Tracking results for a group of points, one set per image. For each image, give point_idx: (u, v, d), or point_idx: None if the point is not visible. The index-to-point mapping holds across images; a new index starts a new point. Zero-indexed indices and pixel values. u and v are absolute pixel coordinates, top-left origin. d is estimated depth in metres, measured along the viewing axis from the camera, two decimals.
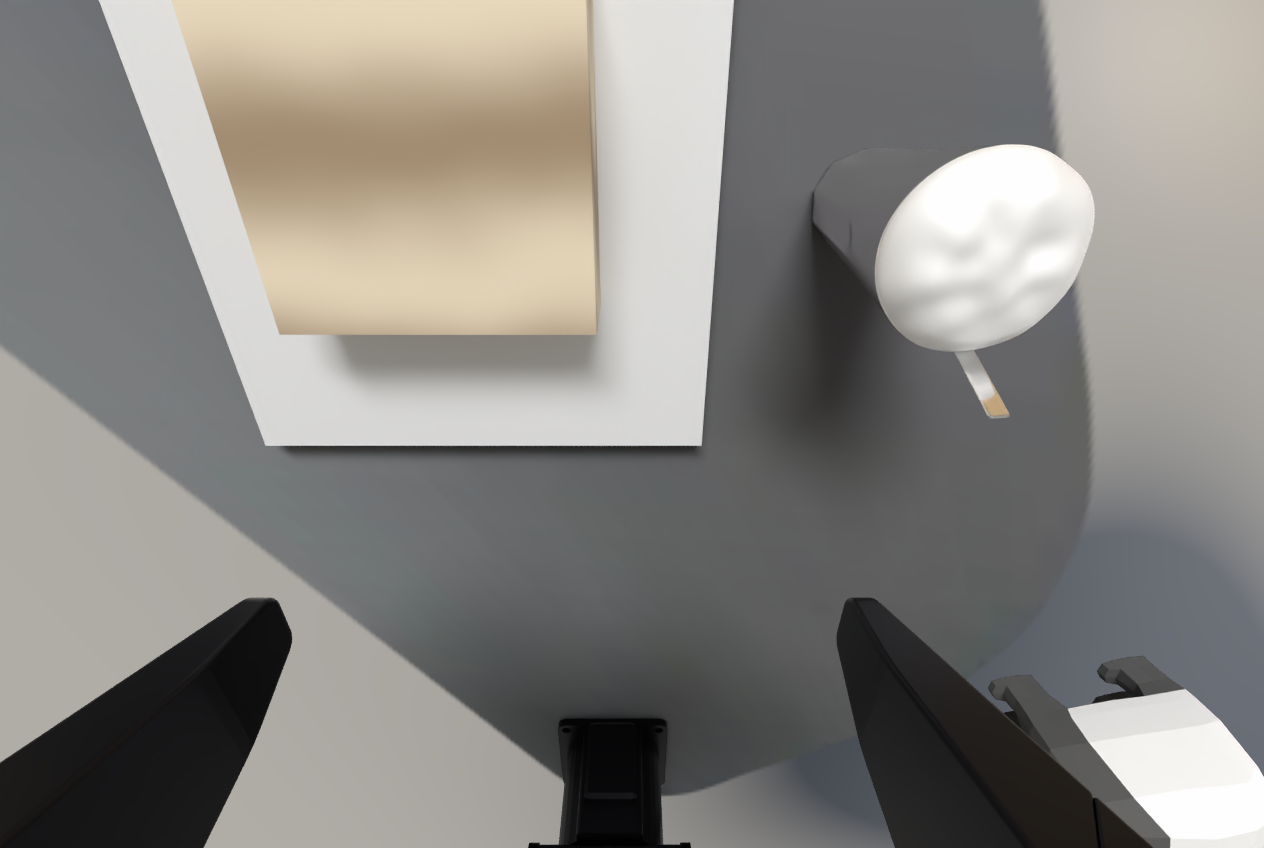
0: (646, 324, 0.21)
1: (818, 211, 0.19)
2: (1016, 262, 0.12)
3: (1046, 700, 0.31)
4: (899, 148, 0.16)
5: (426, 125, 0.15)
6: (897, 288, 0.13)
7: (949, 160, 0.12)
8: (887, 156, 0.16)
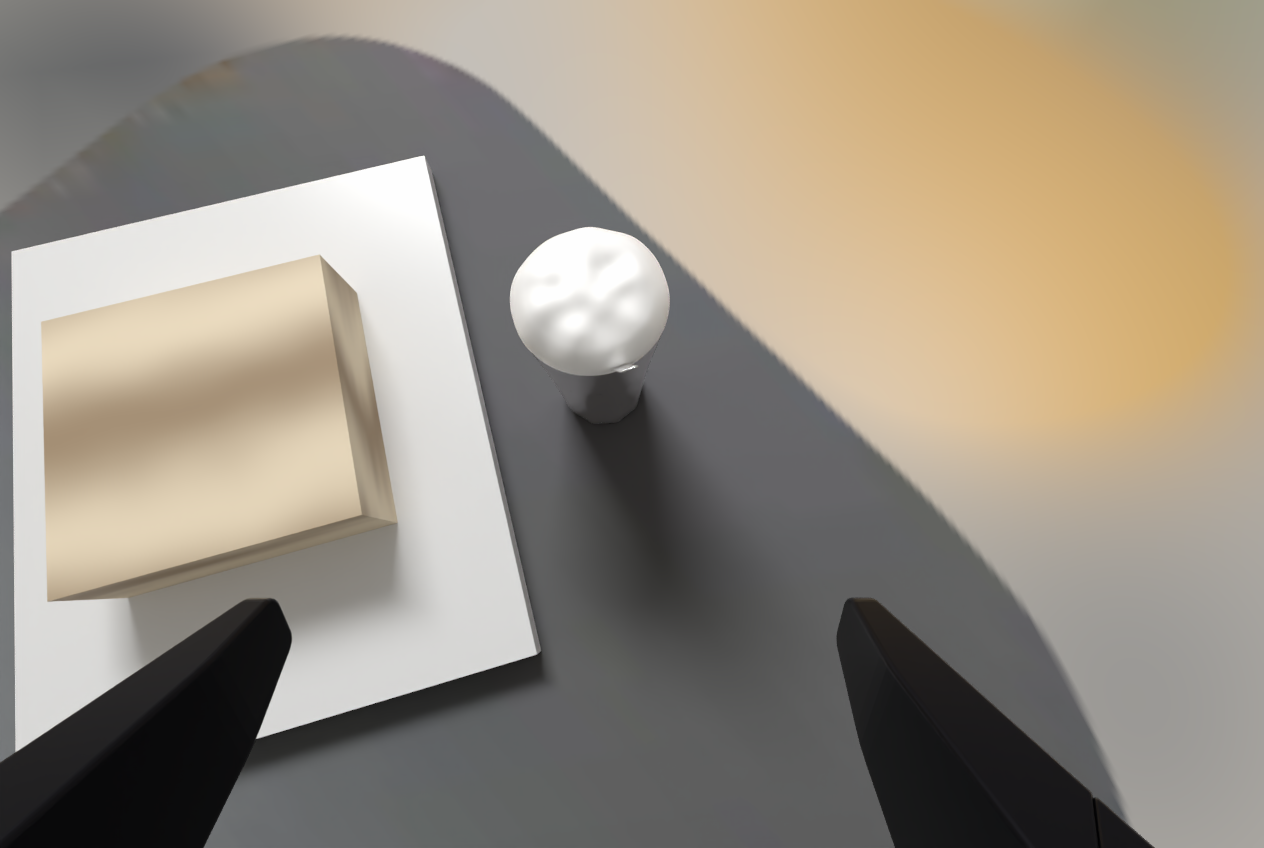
0: (444, 529, 0.22)
1: None
2: (594, 277, 0.16)
3: None
4: None
5: (212, 386, 0.20)
6: (524, 326, 0.16)
7: None
8: None
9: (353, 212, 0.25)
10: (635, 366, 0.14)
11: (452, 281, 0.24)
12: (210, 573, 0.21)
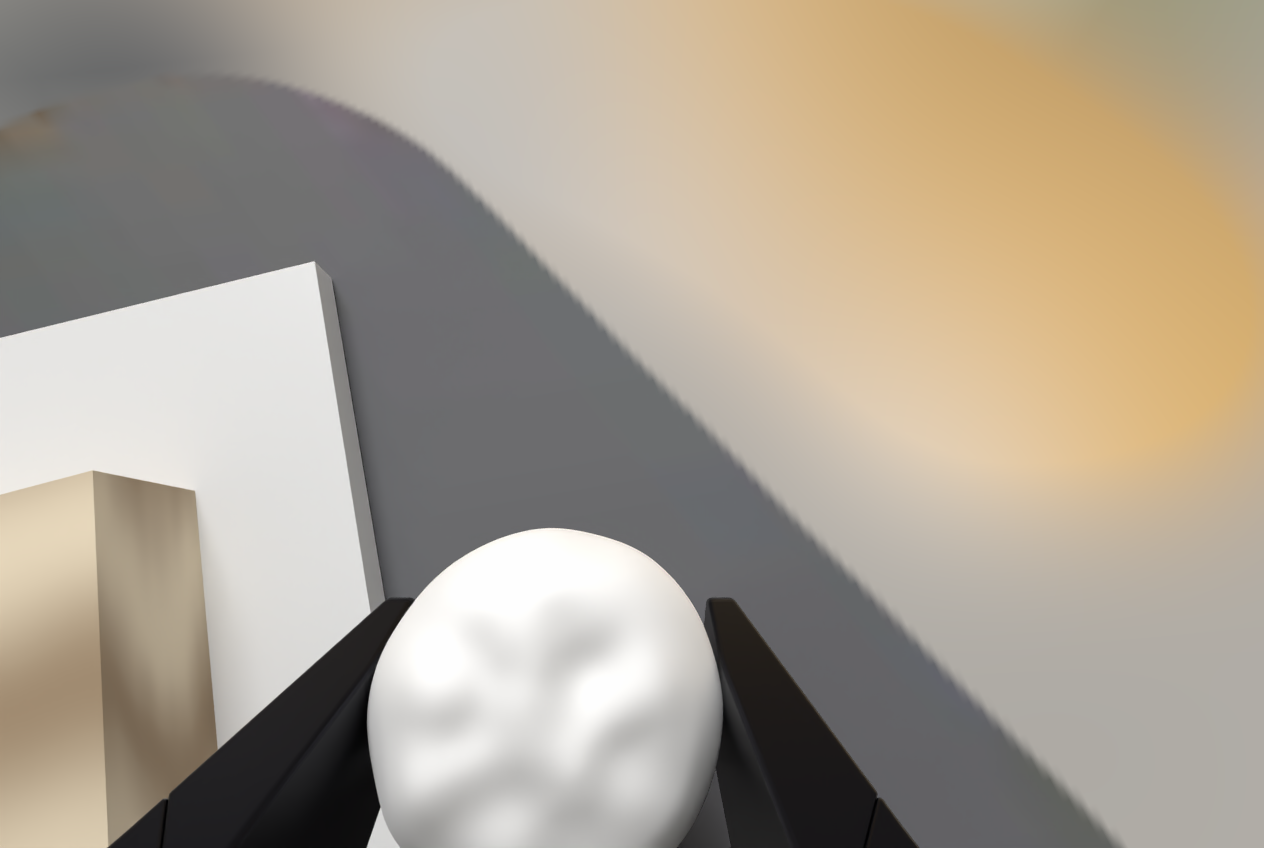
0: None
1: None
2: (552, 707, 0.07)
3: None
4: None
5: None
6: (387, 818, 0.07)
7: None
8: None
9: (200, 354, 0.16)
10: None
11: (347, 469, 0.15)
12: None
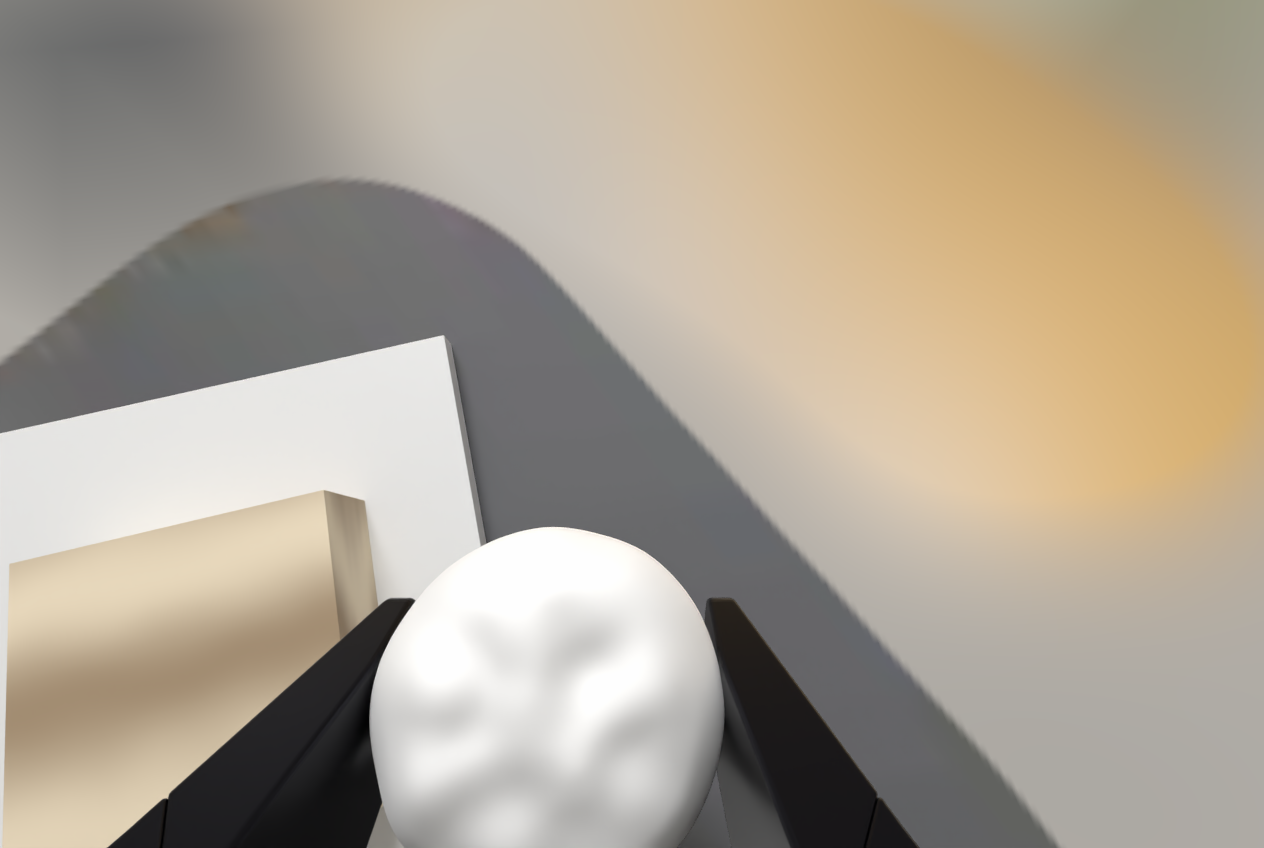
0: None
1: None
2: (555, 706, 0.07)
3: None
4: None
5: (197, 653, 0.18)
6: (390, 816, 0.07)
7: None
8: None
9: (363, 401, 0.23)
10: None
11: (470, 489, 0.22)
12: None
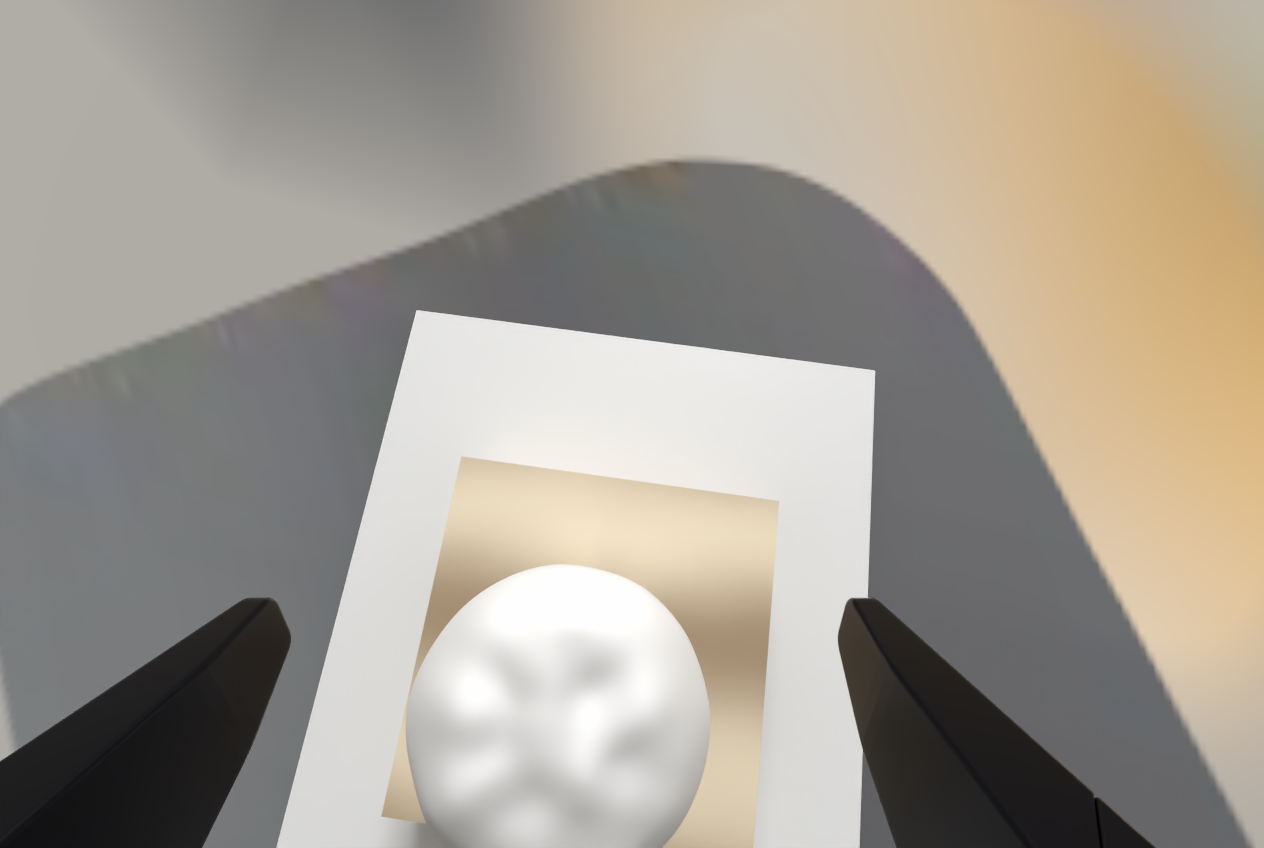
0: None
1: None
2: (565, 725, 0.08)
3: None
4: None
5: None
6: (428, 817, 0.08)
7: None
8: None
9: (778, 409, 0.22)
10: None
11: (868, 542, 0.20)
12: None
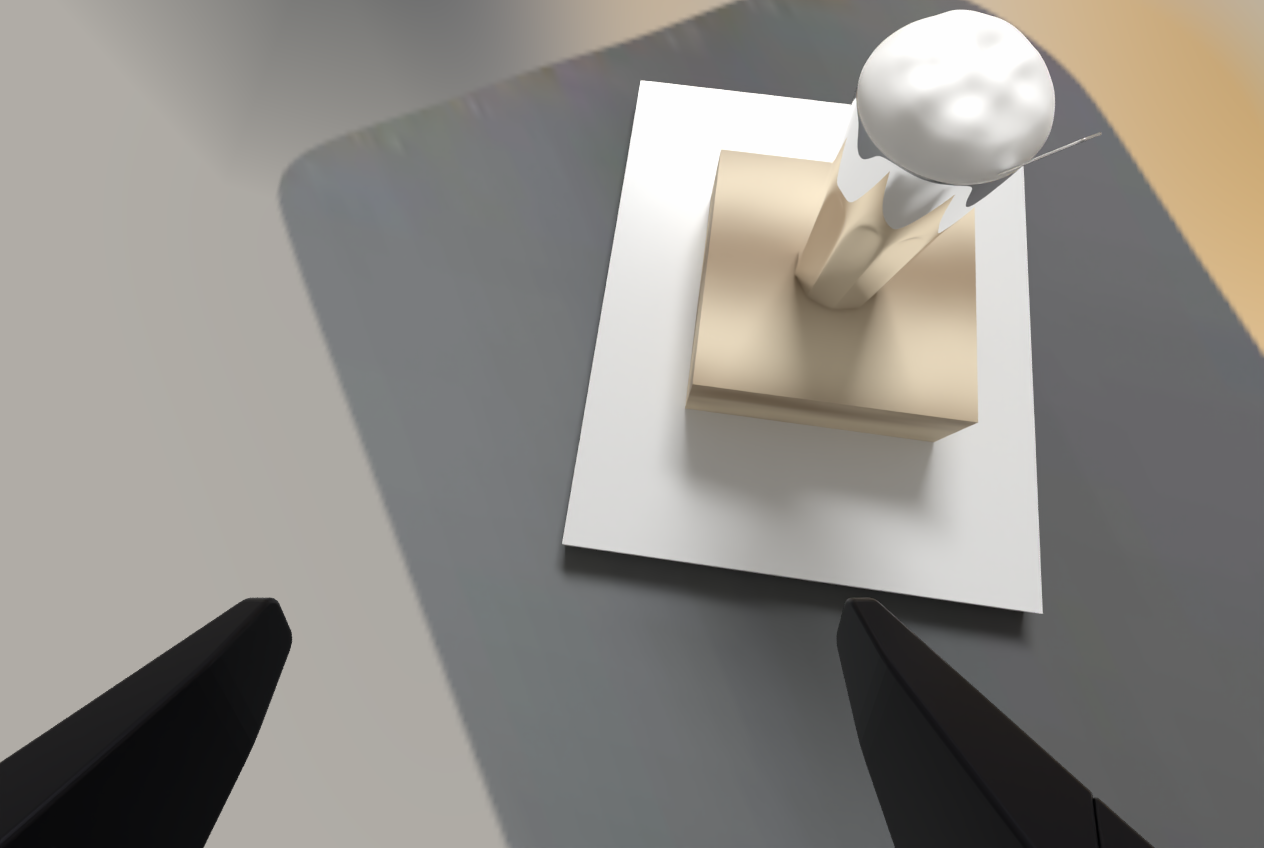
0: (976, 466, 0.23)
1: (806, 274, 0.20)
2: (985, 56, 0.13)
3: None
4: None
5: None
6: (898, 118, 0.13)
7: None
8: None
9: None
10: (1097, 133, 0.11)
11: (1025, 247, 0.25)
12: (766, 417, 0.23)
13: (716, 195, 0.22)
